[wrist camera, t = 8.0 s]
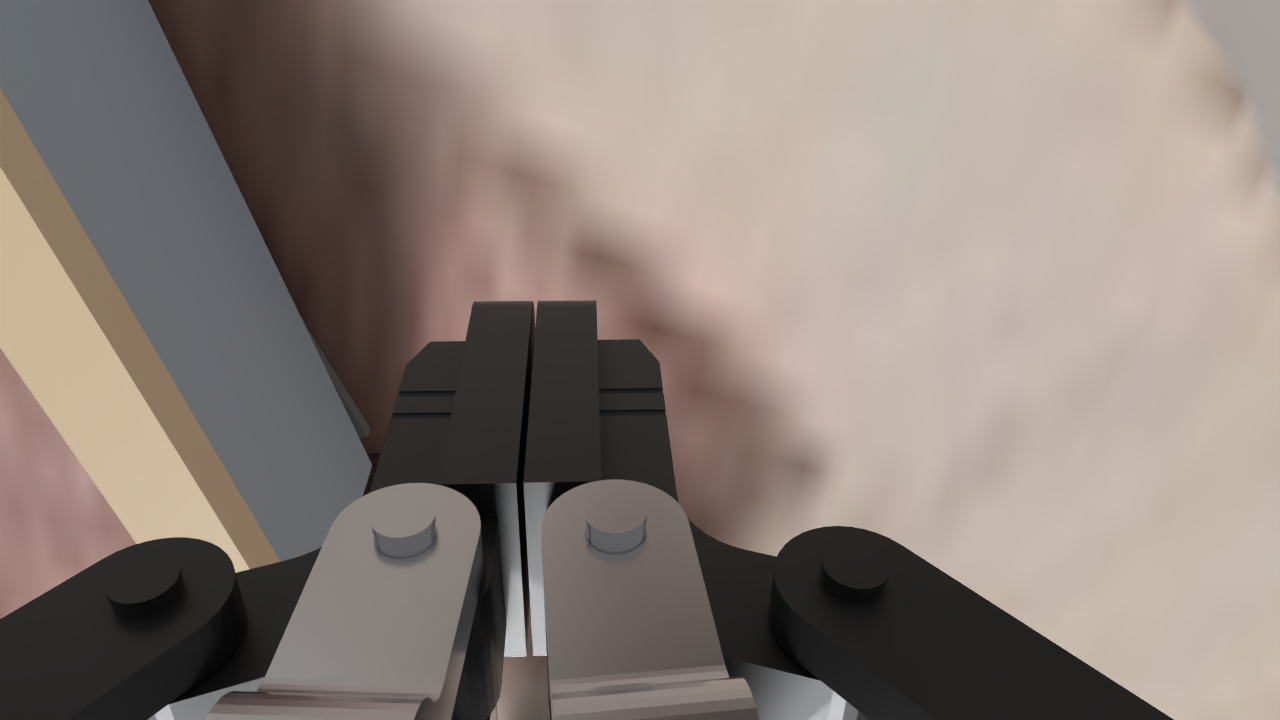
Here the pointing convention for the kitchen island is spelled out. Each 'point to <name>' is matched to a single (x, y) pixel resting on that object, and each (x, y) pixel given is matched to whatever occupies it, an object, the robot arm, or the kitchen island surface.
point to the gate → (156, 295)
